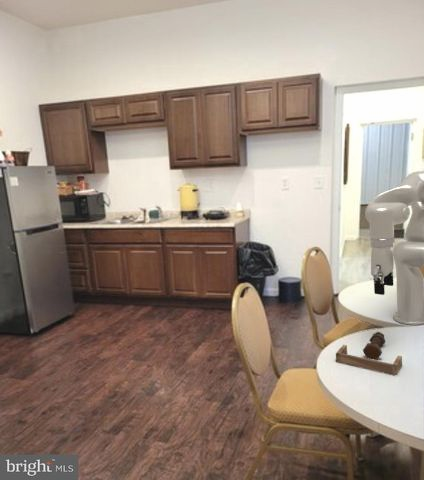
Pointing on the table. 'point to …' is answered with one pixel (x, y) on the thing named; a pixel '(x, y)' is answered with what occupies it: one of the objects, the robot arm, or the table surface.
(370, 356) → the bolt
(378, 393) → the table surface
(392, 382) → the table surface
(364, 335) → the table surface
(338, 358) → the bracket
